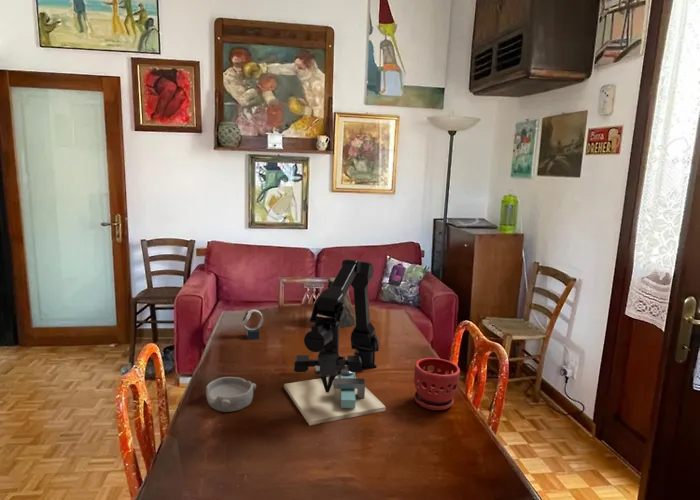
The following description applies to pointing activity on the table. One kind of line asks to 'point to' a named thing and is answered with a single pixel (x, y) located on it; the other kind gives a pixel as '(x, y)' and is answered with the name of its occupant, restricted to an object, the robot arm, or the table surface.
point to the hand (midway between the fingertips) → (327, 391)
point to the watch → (252, 331)
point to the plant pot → (435, 383)
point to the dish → (229, 393)
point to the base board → (328, 402)
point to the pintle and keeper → (350, 383)
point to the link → (347, 394)
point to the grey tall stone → (348, 314)
